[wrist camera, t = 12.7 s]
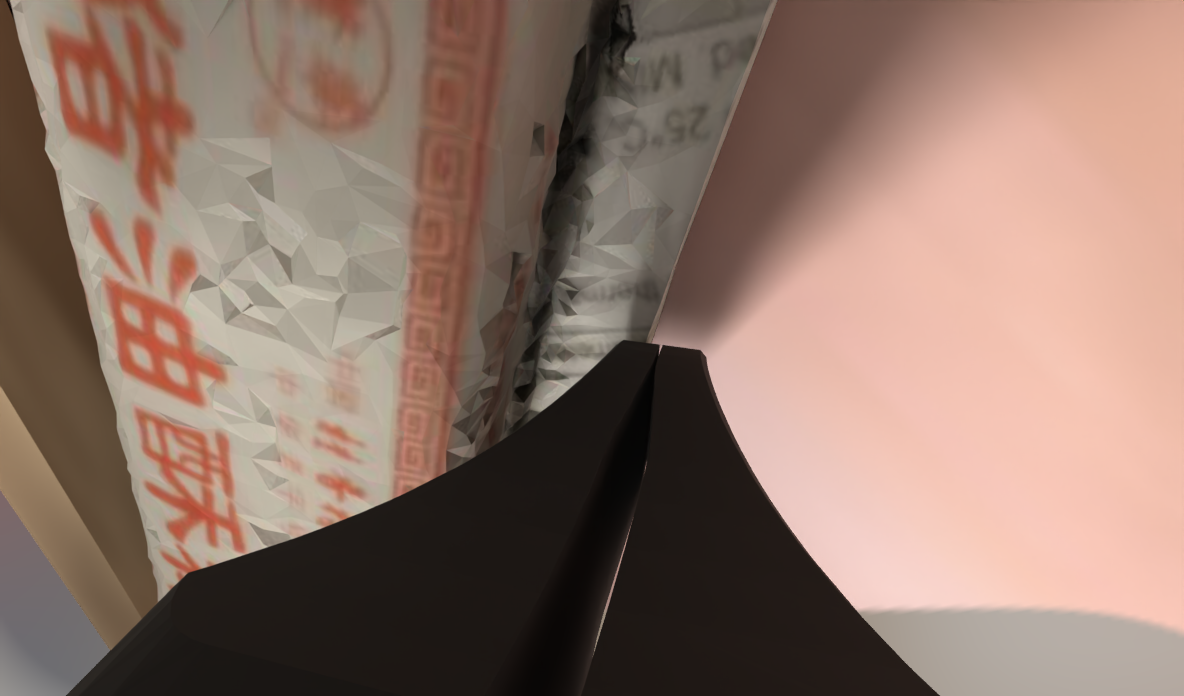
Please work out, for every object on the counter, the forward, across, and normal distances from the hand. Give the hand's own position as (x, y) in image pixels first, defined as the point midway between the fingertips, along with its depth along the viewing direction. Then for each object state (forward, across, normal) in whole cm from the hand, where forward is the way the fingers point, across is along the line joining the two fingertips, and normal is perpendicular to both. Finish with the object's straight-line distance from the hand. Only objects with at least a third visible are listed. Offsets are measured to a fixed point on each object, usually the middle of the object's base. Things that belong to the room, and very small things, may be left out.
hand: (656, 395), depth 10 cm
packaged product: (+2, +5, 0) cm, 6 cm away
